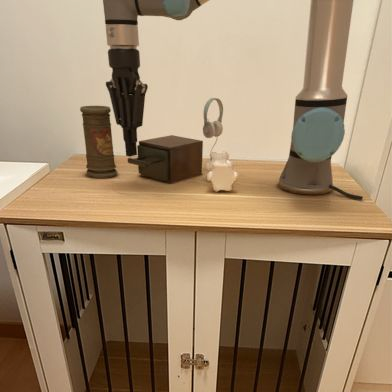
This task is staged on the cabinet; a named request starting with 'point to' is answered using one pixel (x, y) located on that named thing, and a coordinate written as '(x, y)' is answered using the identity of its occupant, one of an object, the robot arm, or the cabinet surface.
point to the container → (98, 141)
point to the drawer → (152, 162)
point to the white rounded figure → (220, 171)
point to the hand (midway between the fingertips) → (131, 155)
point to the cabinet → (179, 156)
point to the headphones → (216, 126)
